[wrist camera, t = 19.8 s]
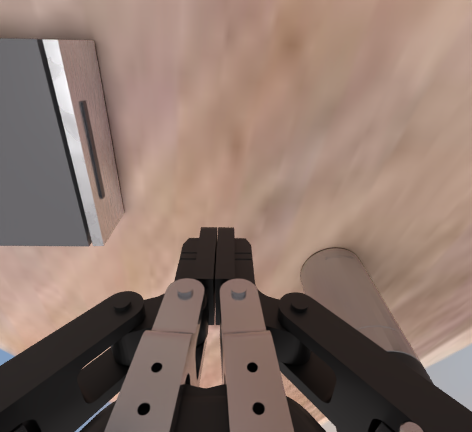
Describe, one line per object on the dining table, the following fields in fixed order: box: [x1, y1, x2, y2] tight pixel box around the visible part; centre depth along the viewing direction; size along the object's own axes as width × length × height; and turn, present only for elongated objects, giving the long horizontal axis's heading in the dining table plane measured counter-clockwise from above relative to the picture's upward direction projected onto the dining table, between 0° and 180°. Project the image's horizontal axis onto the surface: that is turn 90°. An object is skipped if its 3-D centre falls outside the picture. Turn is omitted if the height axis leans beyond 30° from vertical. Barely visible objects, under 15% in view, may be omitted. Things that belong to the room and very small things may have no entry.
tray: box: [42, 39, 124, 246], centre depth 33 cm, size 18×20×8 cm
